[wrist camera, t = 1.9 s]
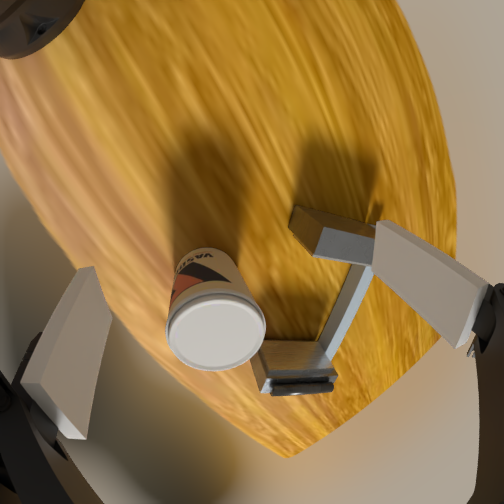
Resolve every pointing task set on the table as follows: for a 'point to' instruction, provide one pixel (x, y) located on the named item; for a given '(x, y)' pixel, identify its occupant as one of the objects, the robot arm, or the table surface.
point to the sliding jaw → (292, 368)
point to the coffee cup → (212, 313)
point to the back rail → (345, 307)
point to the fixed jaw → (333, 236)
